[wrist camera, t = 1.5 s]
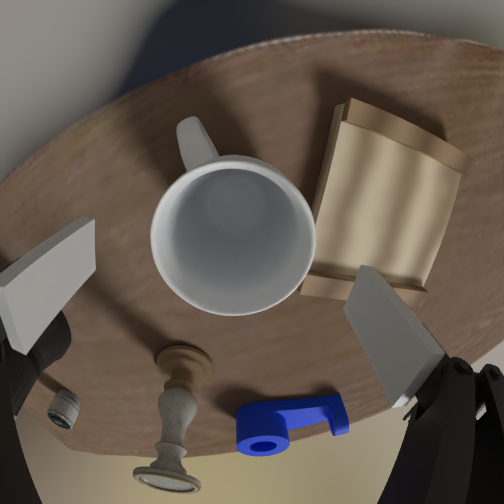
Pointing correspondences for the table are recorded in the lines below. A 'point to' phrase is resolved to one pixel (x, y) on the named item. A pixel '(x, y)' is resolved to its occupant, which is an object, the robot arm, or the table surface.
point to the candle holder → (176, 418)
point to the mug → (230, 230)
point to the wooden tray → (381, 202)
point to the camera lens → (64, 409)
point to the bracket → (285, 422)
